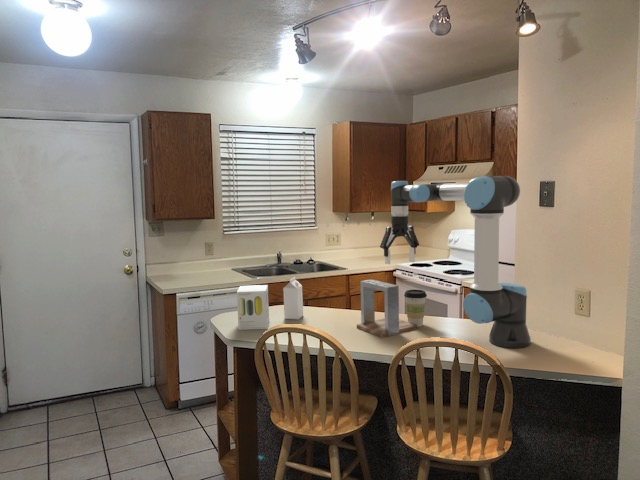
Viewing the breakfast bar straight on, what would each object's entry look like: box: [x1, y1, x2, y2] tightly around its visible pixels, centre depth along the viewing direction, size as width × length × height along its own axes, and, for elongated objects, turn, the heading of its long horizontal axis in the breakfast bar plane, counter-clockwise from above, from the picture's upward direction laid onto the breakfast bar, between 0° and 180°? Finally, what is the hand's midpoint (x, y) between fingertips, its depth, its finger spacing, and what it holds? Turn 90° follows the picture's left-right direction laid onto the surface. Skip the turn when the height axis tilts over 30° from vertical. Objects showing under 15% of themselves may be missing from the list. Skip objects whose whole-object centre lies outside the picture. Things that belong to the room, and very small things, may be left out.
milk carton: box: [282, 276, 304, 320], centre depth 242 cm, size 7×7×19 cm
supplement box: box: [236, 284, 270, 331], centre depth 231 cm, size 13×13×18 cm
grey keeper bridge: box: [360, 278, 400, 337], centre depth 218 cm, size 18×6×20 cm, turn 33°
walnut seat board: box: [356, 317, 418, 338], centre depth 222 cm, size 17×20×2 cm
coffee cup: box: [404, 289, 428, 328], centre depth 225 cm, size 10×10×15 cm
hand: (400, 262), depth 229 cm, fingers open, 13 cm apart
